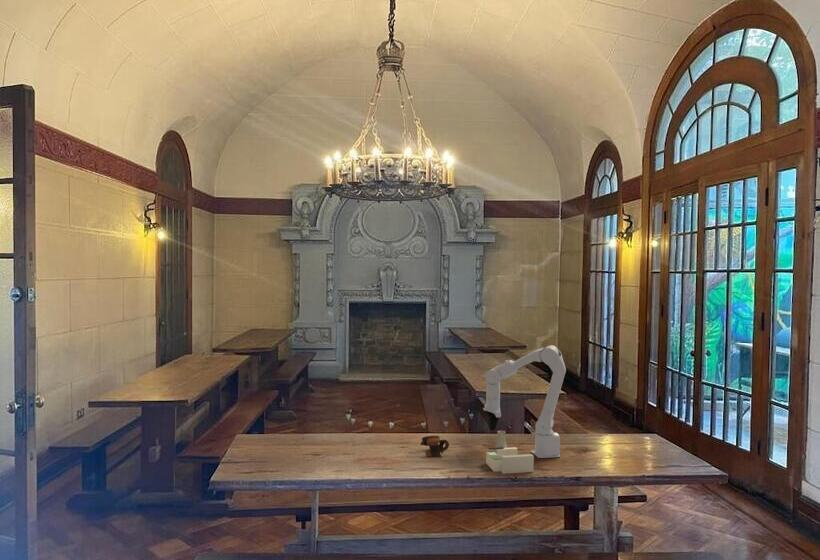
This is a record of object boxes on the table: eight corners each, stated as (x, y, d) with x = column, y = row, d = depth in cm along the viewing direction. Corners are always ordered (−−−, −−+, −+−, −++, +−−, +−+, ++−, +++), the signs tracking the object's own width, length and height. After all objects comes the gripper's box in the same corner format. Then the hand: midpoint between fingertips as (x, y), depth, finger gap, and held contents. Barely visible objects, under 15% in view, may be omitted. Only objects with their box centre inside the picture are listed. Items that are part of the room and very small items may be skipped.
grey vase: (509, 460, 228) (510, 435, 228) (491, 458, 230) (491, 433, 229) (510, 454, 235) (510, 429, 235) (492, 452, 237) (492, 428, 236)
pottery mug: (418, 457, 230) (416, 437, 234) (426, 461, 238) (423, 441, 242) (447, 453, 227) (445, 432, 231) (454, 457, 236) (451, 436, 239)
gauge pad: (515, 459, 228) (516, 445, 227) (517, 461, 226) (517, 447, 226) (487, 461, 225) (488, 447, 225) (489, 462, 224) (489, 448, 223)
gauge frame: (521, 461, 227) (521, 445, 227) (533, 471, 216) (533, 455, 216) (485, 463, 224) (486, 447, 224) (496, 474, 213) (496, 458, 213)
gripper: (478, 393, 248) (477, 425, 249) (489, 402, 234) (488, 435, 234) (494, 393, 250) (493, 424, 250) (506, 401, 235) (505, 434, 236)
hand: (492, 429), depth 242 cm, fingers closed
